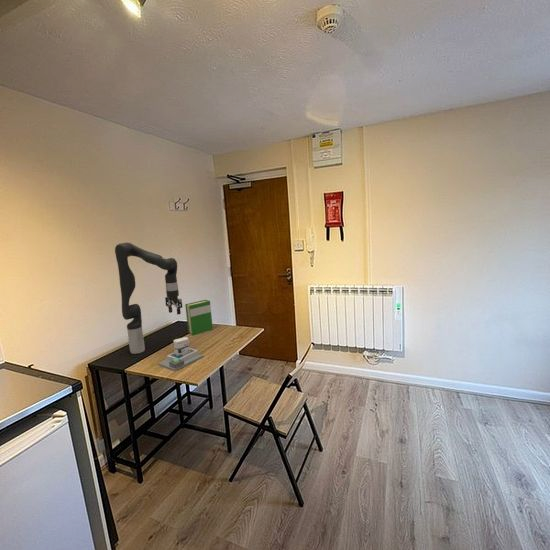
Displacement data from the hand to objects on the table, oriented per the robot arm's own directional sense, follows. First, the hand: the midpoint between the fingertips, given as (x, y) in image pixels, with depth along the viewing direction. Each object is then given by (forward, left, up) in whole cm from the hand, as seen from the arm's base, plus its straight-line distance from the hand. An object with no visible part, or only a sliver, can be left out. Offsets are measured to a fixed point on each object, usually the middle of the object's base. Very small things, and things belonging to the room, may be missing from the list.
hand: (174, 313), depth 198 cm
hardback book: (-20, +36, -28) cm, 50 cm away
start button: (+16, -14, -26) cm, 34 cm away
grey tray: (+11, -7, -28) cm, 31 cm away
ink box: (+9, -4, -27) cm, 29 cm away
